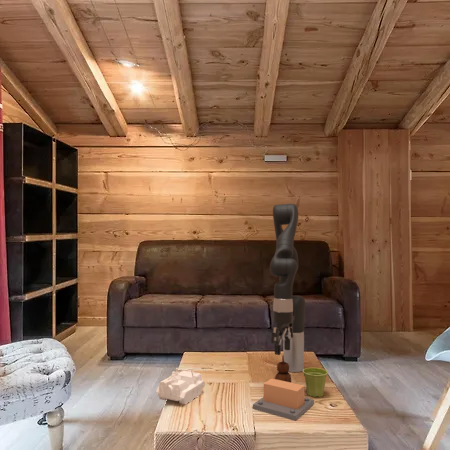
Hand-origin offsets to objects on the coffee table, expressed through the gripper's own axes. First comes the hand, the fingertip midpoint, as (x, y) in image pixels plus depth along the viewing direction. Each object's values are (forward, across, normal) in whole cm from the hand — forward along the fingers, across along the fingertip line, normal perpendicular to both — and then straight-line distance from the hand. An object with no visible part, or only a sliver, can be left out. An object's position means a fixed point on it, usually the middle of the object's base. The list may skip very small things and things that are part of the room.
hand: (282, 352), depth 153 cm
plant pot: (+15, -6, +11) cm, 20 cm away
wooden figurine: (+15, 0, 0) cm, 15 cm away
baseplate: (+15, +12, +6) cm, 20 cm away
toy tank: (+16, +28, -28) cm, 43 cm away
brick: (+14, +12, +6) cm, 19 cm away
